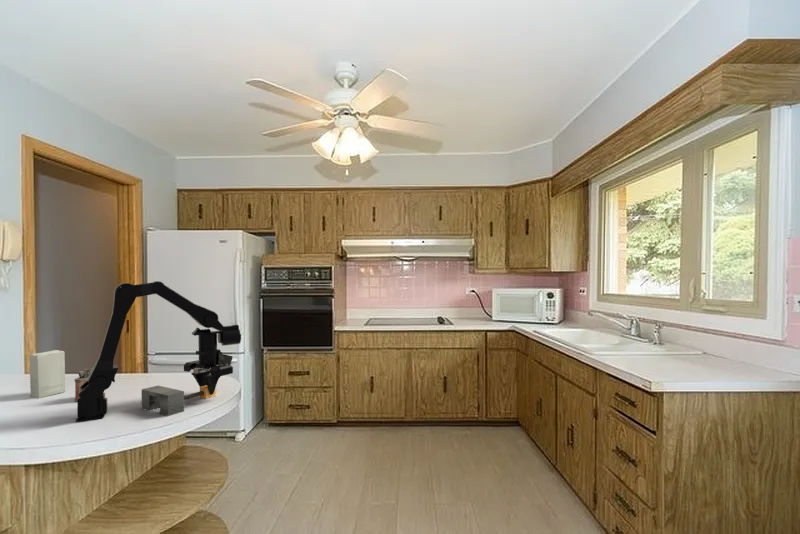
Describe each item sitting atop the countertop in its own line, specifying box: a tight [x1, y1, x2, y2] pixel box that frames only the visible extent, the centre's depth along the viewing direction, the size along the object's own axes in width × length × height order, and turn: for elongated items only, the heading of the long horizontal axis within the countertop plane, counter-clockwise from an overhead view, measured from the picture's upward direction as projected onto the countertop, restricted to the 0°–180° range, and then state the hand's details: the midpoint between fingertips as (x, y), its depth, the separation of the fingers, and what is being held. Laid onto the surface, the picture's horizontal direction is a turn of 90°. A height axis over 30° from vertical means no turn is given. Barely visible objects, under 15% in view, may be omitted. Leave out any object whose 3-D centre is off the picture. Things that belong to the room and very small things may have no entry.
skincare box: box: [29, 349, 66, 399], centre depth 148 cm, size 8×6×15 cm
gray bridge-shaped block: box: [141, 385, 185, 417], centre depth 128 cm, size 5×14×6 cm, turn 60°
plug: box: [184, 385, 217, 401], centre depth 138 cm, size 14×3×4 cm, turn 150°
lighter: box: [74, 367, 93, 403], centre depth 142 cm, size 8×3×10 cm, turn 168°
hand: (208, 393), depth 142 cm, fingers closed on plug, 3 cm apart
